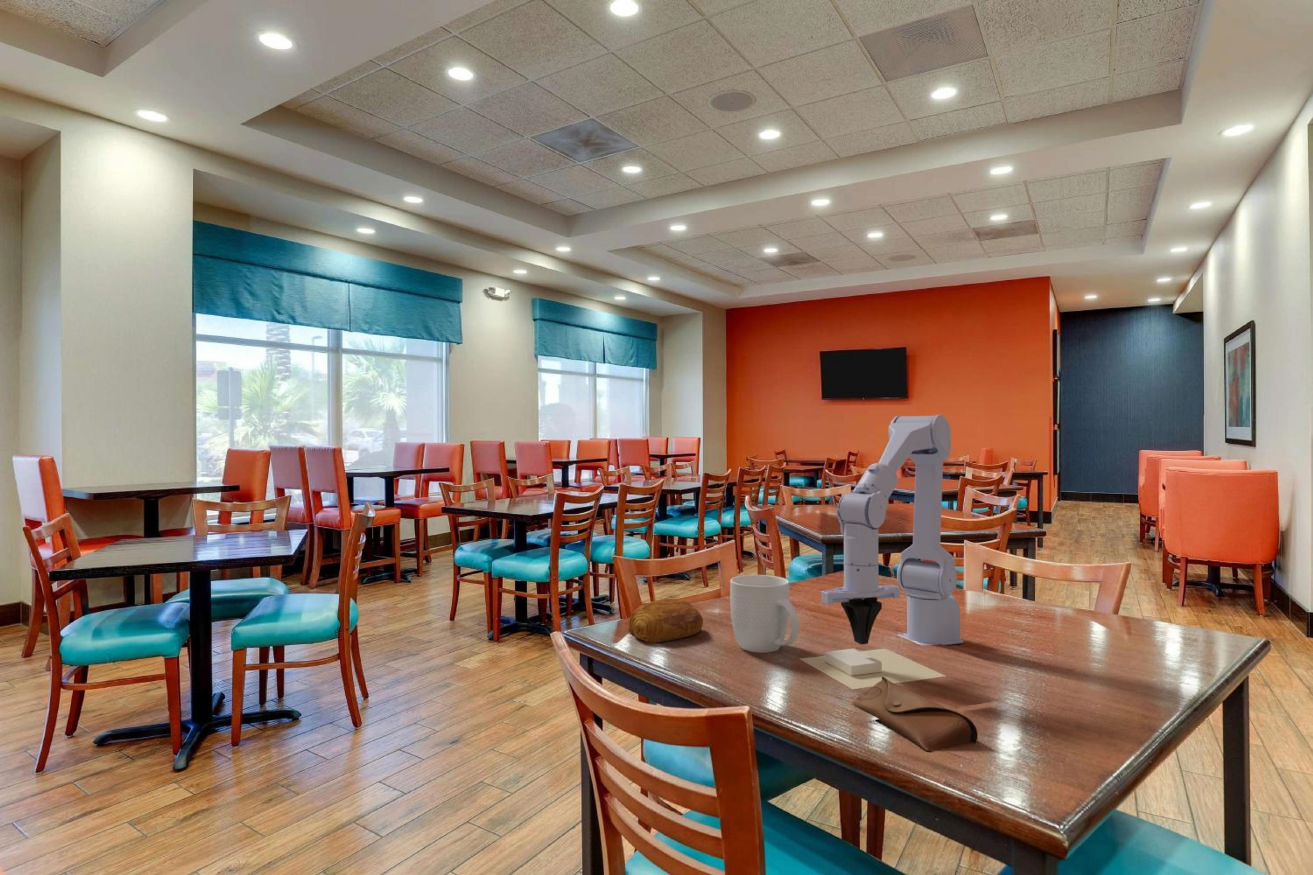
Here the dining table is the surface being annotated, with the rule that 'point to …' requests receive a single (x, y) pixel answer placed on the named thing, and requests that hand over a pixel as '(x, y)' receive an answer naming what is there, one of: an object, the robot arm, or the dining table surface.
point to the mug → (762, 612)
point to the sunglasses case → (916, 717)
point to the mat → (892, 669)
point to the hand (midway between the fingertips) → (861, 642)
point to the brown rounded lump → (665, 620)
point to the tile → (852, 662)
